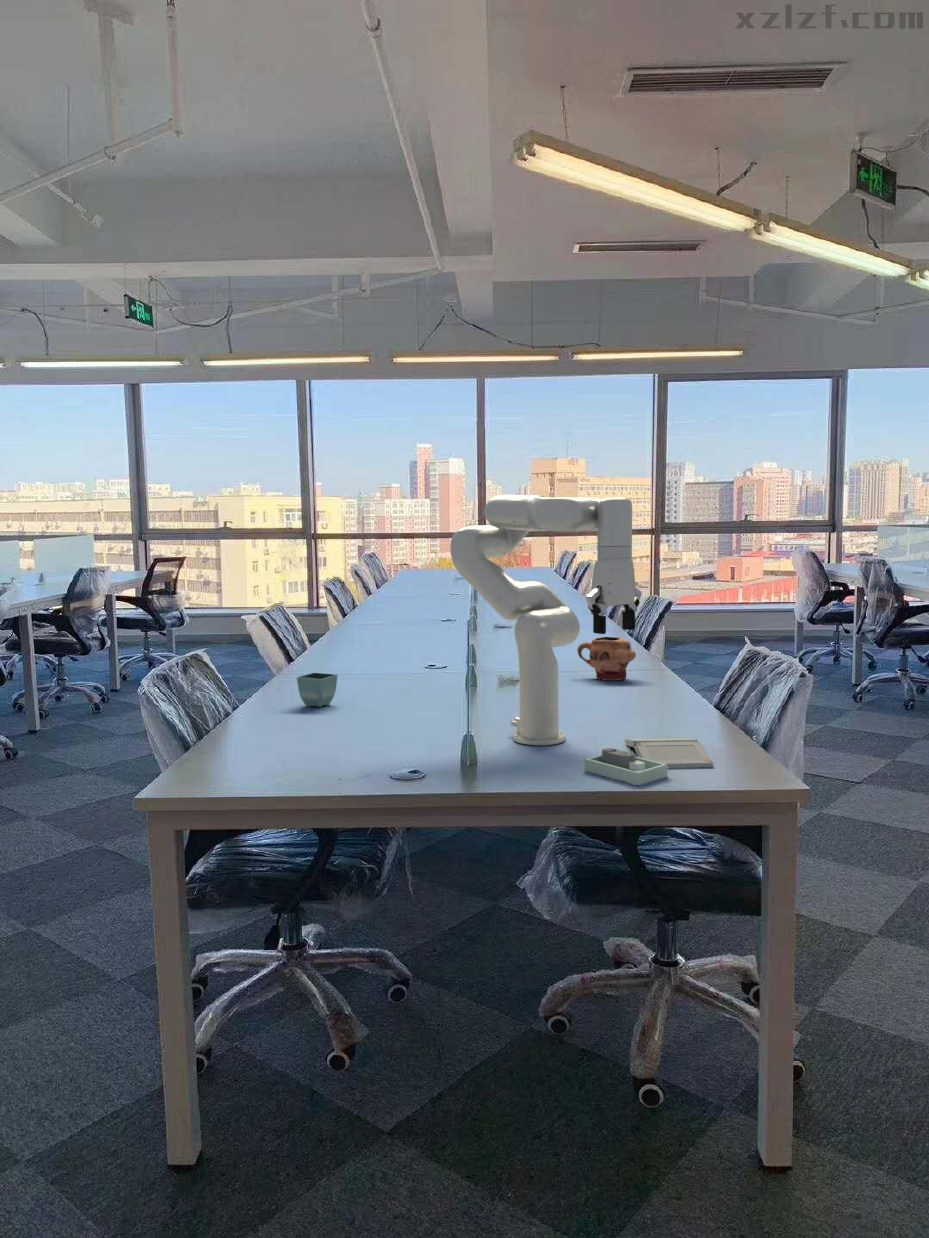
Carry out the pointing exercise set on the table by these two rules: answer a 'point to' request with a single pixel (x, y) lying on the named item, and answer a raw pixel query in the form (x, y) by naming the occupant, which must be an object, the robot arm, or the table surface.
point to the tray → (627, 770)
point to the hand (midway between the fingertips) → (614, 631)
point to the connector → (622, 759)
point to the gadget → (672, 752)
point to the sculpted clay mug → (608, 657)
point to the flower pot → (317, 688)
